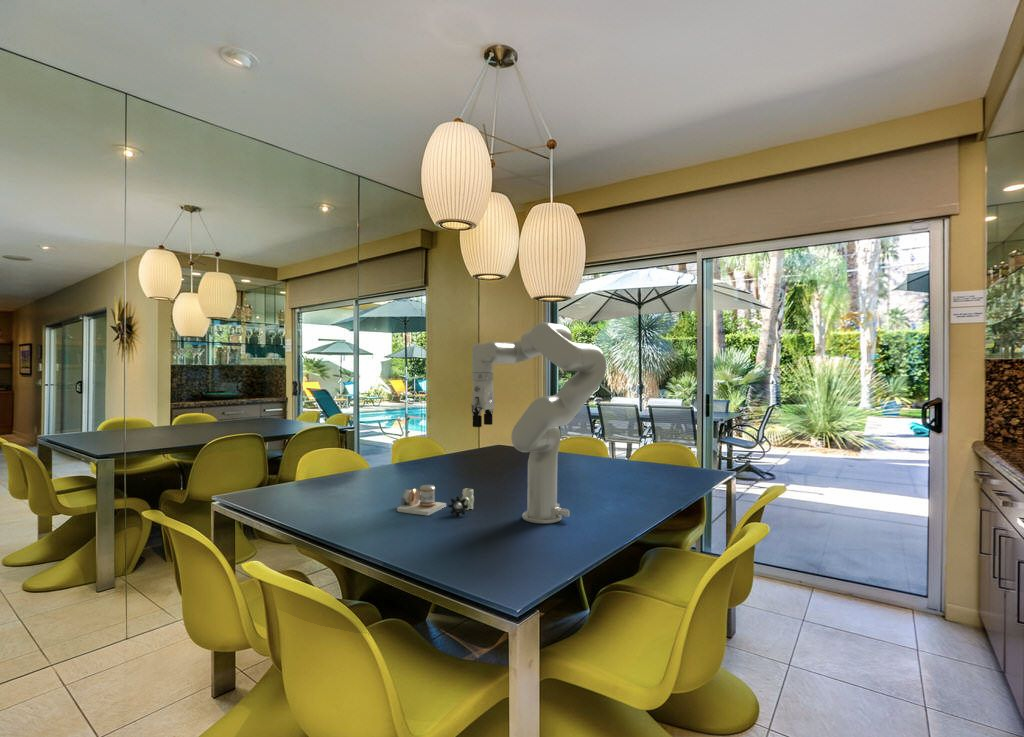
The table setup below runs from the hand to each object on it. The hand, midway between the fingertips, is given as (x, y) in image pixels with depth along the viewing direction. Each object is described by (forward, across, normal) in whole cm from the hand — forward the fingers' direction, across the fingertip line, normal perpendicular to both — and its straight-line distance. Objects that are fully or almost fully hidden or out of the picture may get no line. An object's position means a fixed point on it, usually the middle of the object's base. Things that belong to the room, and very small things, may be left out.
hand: (482, 425), depth 179 cm
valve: (+28, -12, +2) cm, 31 cm away
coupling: (+26, -14, +14) cm, 33 cm away
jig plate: (+28, -14, +16) cm, 35 cm away
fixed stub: (+27, -14, +21) cm, 37 cm away
